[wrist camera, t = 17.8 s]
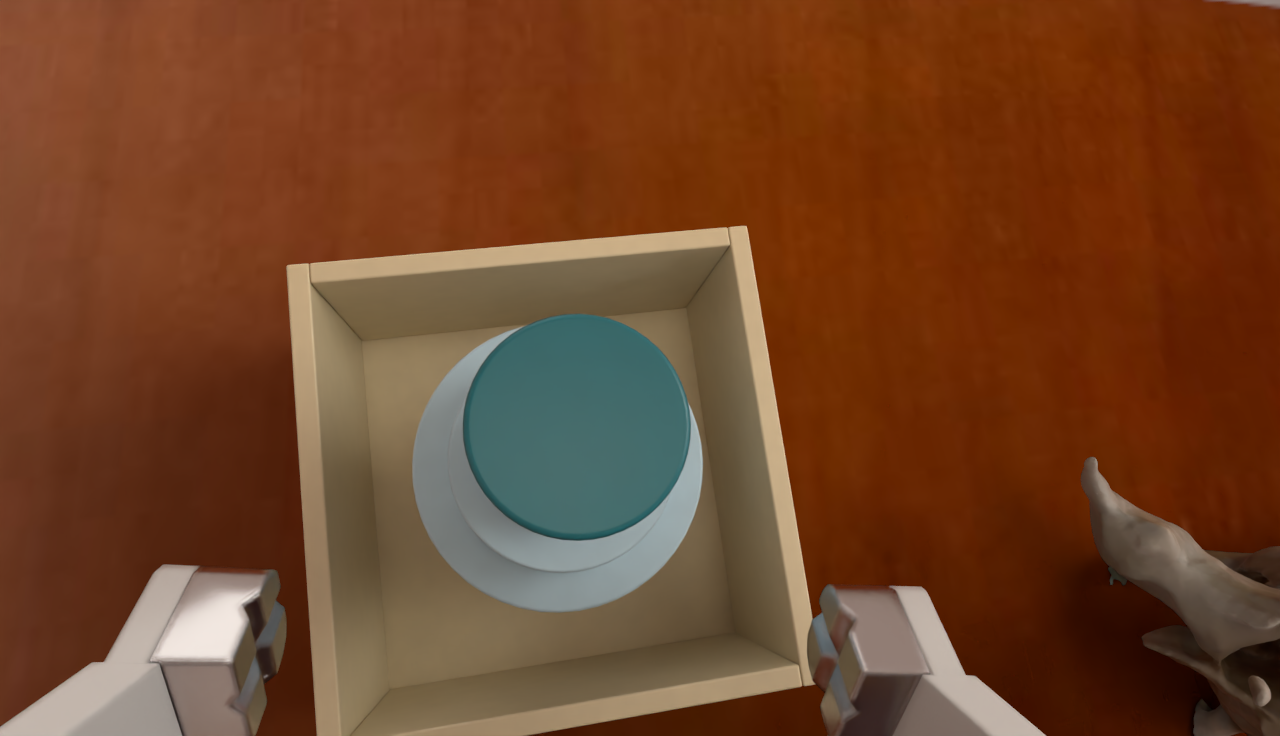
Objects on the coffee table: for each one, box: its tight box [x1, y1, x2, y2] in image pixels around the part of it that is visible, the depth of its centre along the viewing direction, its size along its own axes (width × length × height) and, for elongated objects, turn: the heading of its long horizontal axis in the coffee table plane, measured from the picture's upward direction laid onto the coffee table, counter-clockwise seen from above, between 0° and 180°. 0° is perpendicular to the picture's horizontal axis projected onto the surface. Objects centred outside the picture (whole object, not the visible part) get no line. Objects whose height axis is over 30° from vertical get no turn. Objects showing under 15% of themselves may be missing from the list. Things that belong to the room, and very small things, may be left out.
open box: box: [286, 226, 815, 736], centre depth 22 cm, size 11×11×6 cm
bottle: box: [412, 314, 703, 613], centre depth 17 cm, size 6×6×15 cm
